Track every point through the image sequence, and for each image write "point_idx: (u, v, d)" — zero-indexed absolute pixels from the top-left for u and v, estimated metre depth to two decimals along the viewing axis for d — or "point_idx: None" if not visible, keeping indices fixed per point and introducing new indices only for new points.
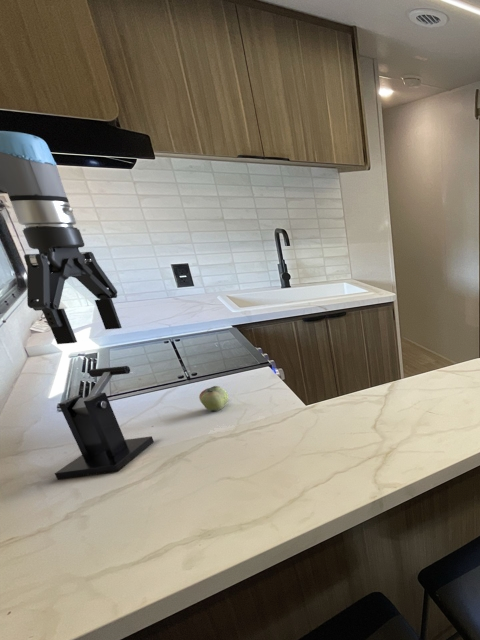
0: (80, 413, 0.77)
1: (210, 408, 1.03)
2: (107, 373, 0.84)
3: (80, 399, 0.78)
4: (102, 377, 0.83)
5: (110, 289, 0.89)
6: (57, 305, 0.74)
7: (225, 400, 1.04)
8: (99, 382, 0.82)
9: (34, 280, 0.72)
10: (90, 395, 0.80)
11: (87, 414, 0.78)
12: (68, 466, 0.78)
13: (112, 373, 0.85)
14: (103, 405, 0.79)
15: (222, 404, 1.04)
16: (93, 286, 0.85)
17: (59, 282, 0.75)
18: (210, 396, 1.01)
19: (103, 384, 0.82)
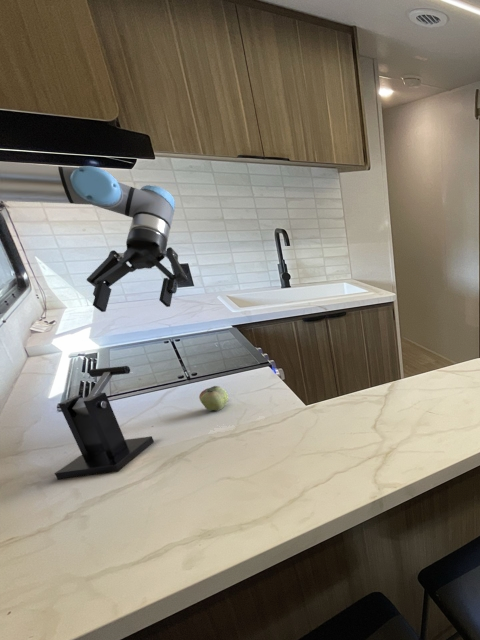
0: (80, 413, 0.77)
1: (210, 408, 1.03)
2: (107, 373, 0.84)
3: (80, 399, 0.78)
4: (102, 377, 0.83)
5: None
6: None
7: (225, 400, 1.04)
8: (99, 382, 0.82)
9: (178, 263, 1.00)
10: (90, 395, 0.80)
11: (87, 414, 0.78)
12: (68, 466, 0.78)
13: (112, 373, 0.85)
14: (103, 405, 0.79)
15: (222, 404, 1.04)
16: (117, 276, 0.97)
17: None
18: (210, 396, 1.01)
19: (103, 384, 0.82)
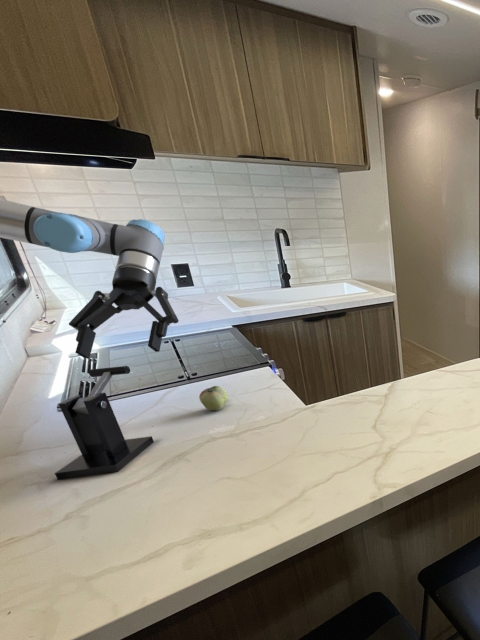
0: (80, 413, 0.77)
1: (210, 408, 1.03)
2: (107, 373, 0.84)
3: (80, 399, 0.78)
4: (102, 377, 0.83)
5: None
6: None
7: (225, 400, 1.04)
8: (99, 382, 0.82)
9: (168, 304, 0.94)
10: (90, 395, 0.80)
11: (87, 414, 0.78)
12: (68, 466, 0.78)
13: (112, 373, 0.85)
14: (103, 405, 0.79)
15: (222, 404, 1.04)
16: (102, 318, 0.91)
17: None
18: (210, 396, 1.01)
19: (103, 384, 0.82)
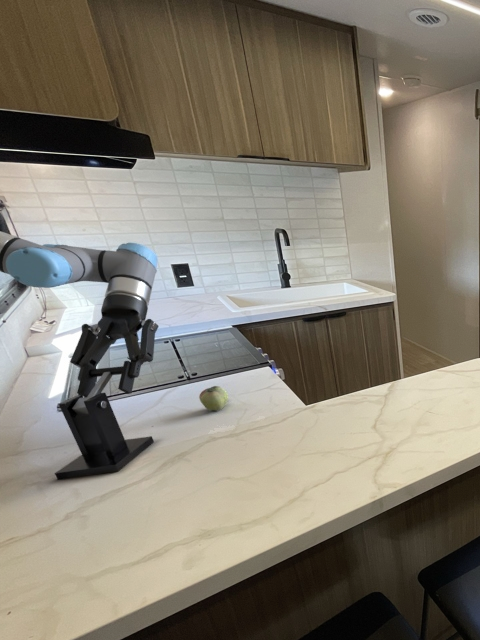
0: (80, 413, 0.77)
1: (210, 408, 1.03)
2: (107, 373, 0.84)
3: (80, 399, 0.78)
4: (102, 377, 0.83)
5: None
6: None
7: (225, 400, 1.04)
8: (99, 382, 0.82)
9: (150, 339, 0.89)
10: (90, 395, 0.80)
11: (87, 414, 0.78)
12: (68, 466, 0.78)
13: (112, 373, 0.85)
14: (103, 405, 0.79)
15: (222, 404, 1.04)
16: (100, 352, 0.87)
17: None
18: (210, 396, 1.01)
19: (103, 384, 0.82)
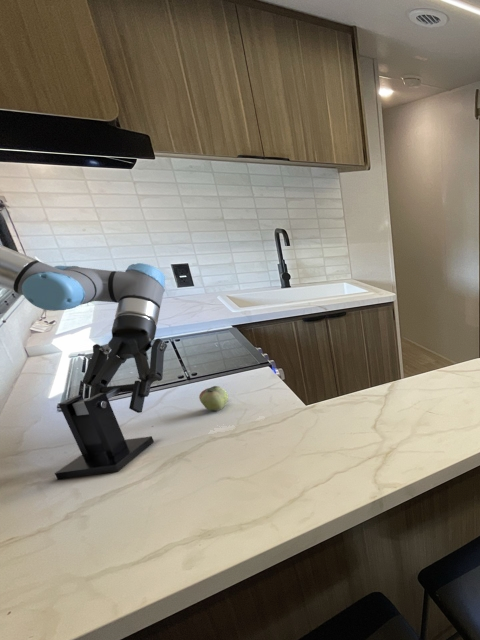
0: (78, 411, 0.77)
1: (210, 408, 1.03)
2: (117, 388, 0.86)
3: (83, 399, 0.79)
4: (111, 390, 0.85)
5: None
6: None
7: (225, 400, 1.04)
8: (107, 393, 0.84)
9: (159, 359, 0.92)
10: None
11: (84, 413, 0.77)
12: (68, 466, 0.78)
13: (122, 389, 0.87)
14: (103, 405, 0.79)
15: (222, 404, 1.04)
16: (111, 372, 0.89)
17: None
18: (210, 396, 1.01)
19: (110, 394, 0.84)
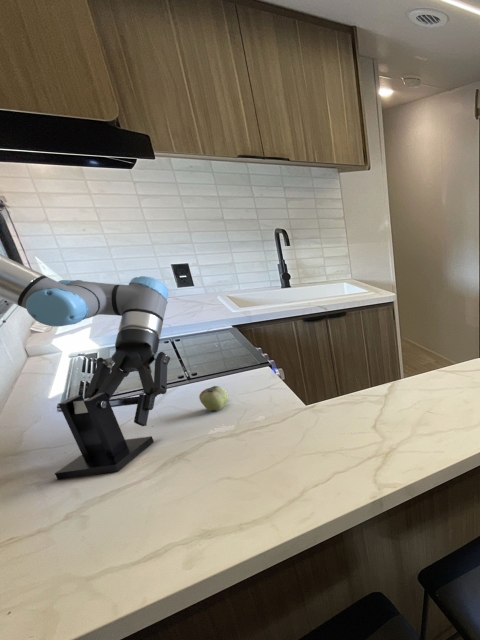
0: (77, 409, 0.77)
1: (210, 408, 1.03)
2: (121, 400, 0.87)
3: None
4: (114, 400, 0.86)
5: None
6: None
7: (225, 400, 1.04)
8: (109, 401, 0.84)
9: (163, 372, 0.92)
10: None
11: (82, 411, 0.77)
12: (68, 466, 0.78)
13: (125, 401, 0.87)
14: (103, 405, 0.79)
15: (222, 404, 1.04)
16: (114, 385, 0.90)
17: None
18: (210, 396, 1.01)
19: (112, 402, 0.84)
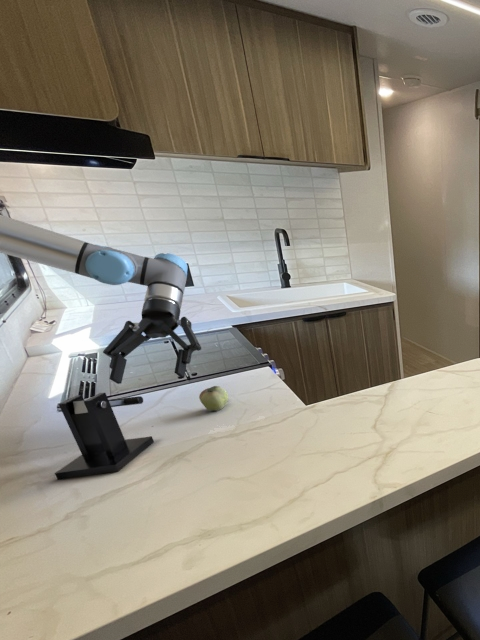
0: (77, 409, 0.77)
1: (210, 408, 1.03)
2: (121, 400, 0.87)
3: None
4: (114, 400, 0.86)
5: None
6: None
7: (225, 400, 1.04)
8: (109, 401, 0.84)
9: (192, 332, 1.03)
10: None
11: (82, 411, 0.77)
12: (68, 466, 0.78)
13: (125, 401, 0.87)
14: (103, 405, 0.79)
15: (222, 404, 1.04)
16: (132, 346, 1.00)
17: None
18: (210, 396, 1.01)
19: (112, 402, 0.84)
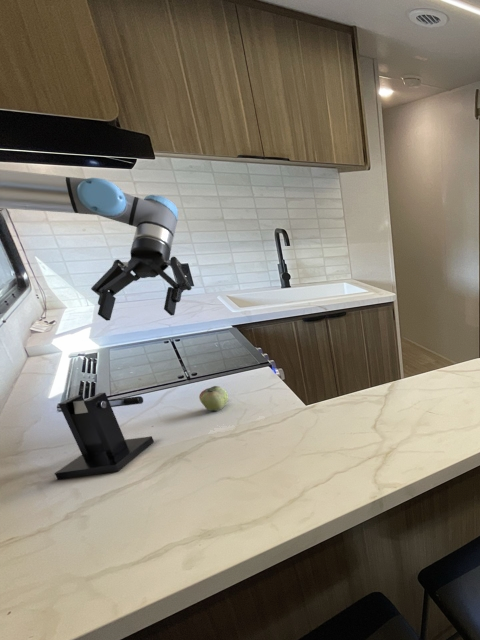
0: (77, 409, 0.77)
1: (210, 408, 1.03)
2: (121, 400, 0.87)
3: None
4: (114, 400, 0.86)
5: None
6: None
7: (225, 400, 1.04)
8: (109, 401, 0.84)
9: (182, 272, 1.02)
10: None
11: (82, 411, 0.77)
12: (68, 466, 0.78)
13: (125, 401, 0.87)
14: (103, 405, 0.79)
15: (222, 404, 1.04)
16: (121, 285, 0.99)
17: None
18: (210, 396, 1.01)
19: (112, 402, 0.84)
